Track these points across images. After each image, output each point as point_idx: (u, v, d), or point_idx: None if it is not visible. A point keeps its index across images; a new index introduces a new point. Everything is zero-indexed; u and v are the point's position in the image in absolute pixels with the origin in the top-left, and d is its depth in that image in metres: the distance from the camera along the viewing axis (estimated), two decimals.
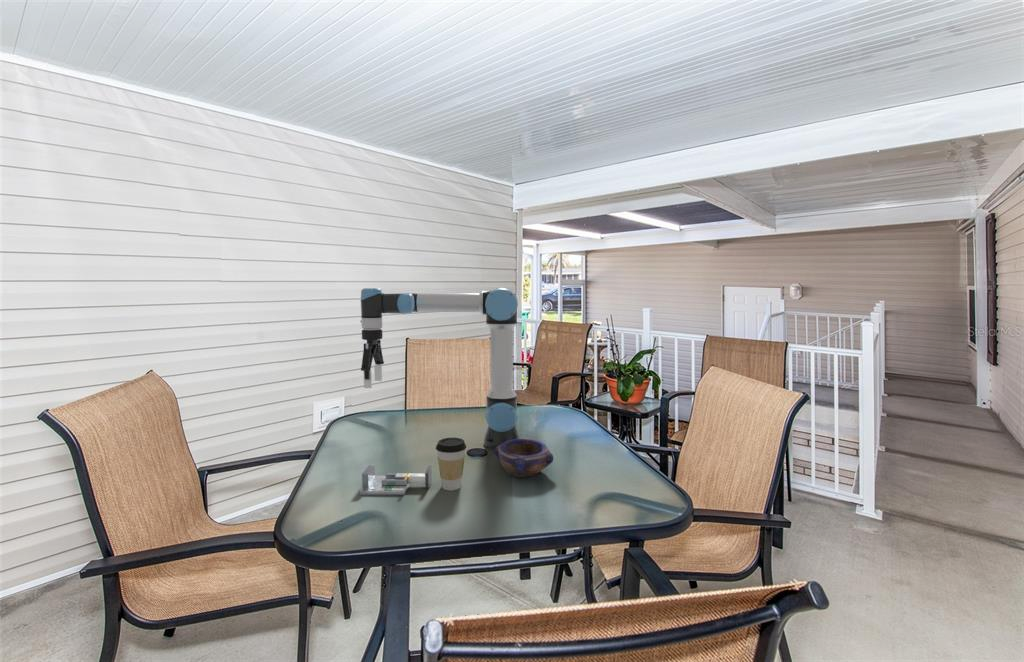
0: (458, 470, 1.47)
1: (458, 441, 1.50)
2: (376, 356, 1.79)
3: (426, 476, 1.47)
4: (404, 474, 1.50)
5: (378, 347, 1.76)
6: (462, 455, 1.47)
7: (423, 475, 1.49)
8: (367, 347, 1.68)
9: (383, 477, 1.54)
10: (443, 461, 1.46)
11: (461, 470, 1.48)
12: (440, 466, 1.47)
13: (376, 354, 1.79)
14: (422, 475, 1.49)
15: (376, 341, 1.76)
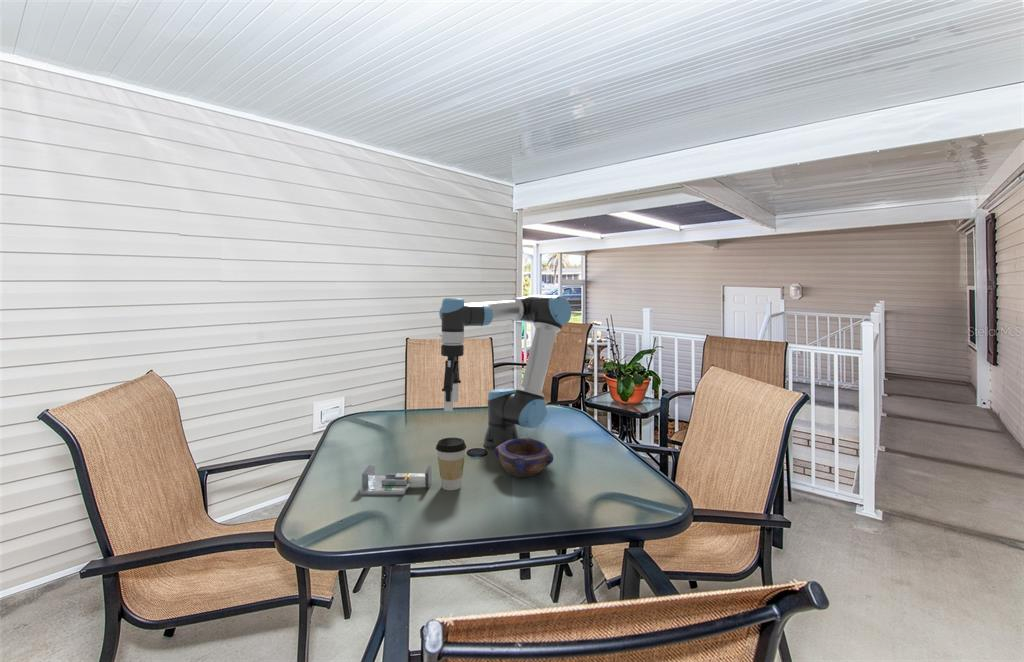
0: (458, 470, 1.47)
1: (458, 441, 1.50)
2: (454, 374, 1.60)
3: (426, 476, 1.47)
4: (404, 474, 1.50)
5: (458, 364, 1.56)
6: (462, 455, 1.47)
7: (423, 475, 1.49)
8: (449, 365, 1.48)
9: (383, 477, 1.54)
10: (443, 461, 1.46)
11: (461, 470, 1.48)
12: (440, 466, 1.47)
13: None
14: (422, 475, 1.49)
15: (456, 358, 1.57)
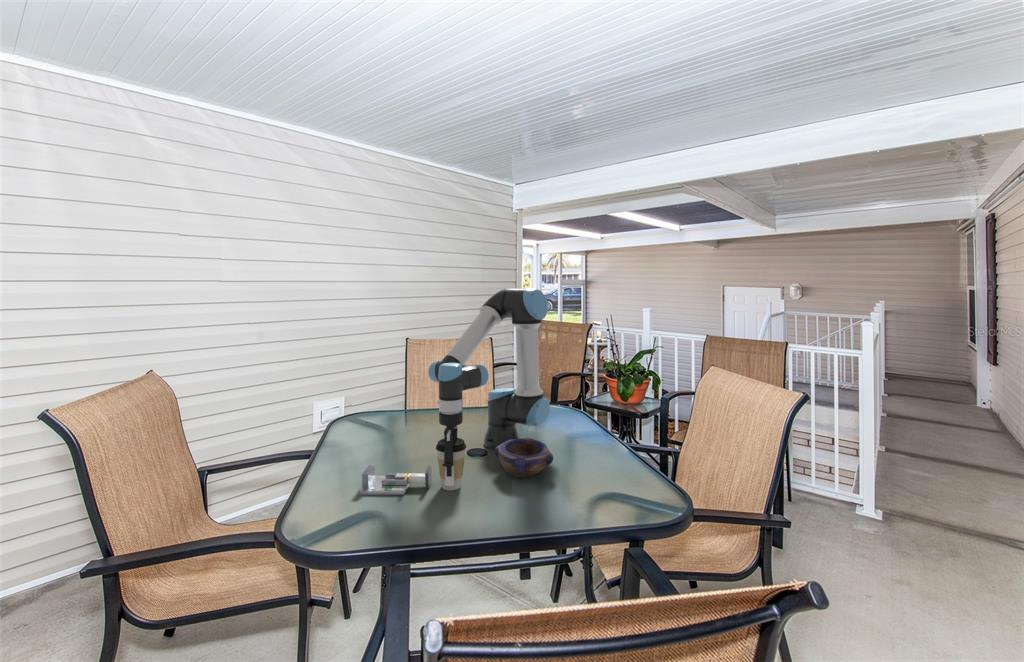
0: (458, 470, 1.47)
1: (458, 441, 1.50)
2: None
3: (426, 476, 1.47)
4: (404, 474, 1.50)
5: None
6: (462, 455, 1.47)
7: (423, 475, 1.49)
8: (449, 439, 1.42)
9: (383, 477, 1.54)
10: (443, 461, 1.46)
11: (461, 470, 1.48)
12: (440, 466, 1.47)
13: None
14: (422, 475, 1.49)
15: None
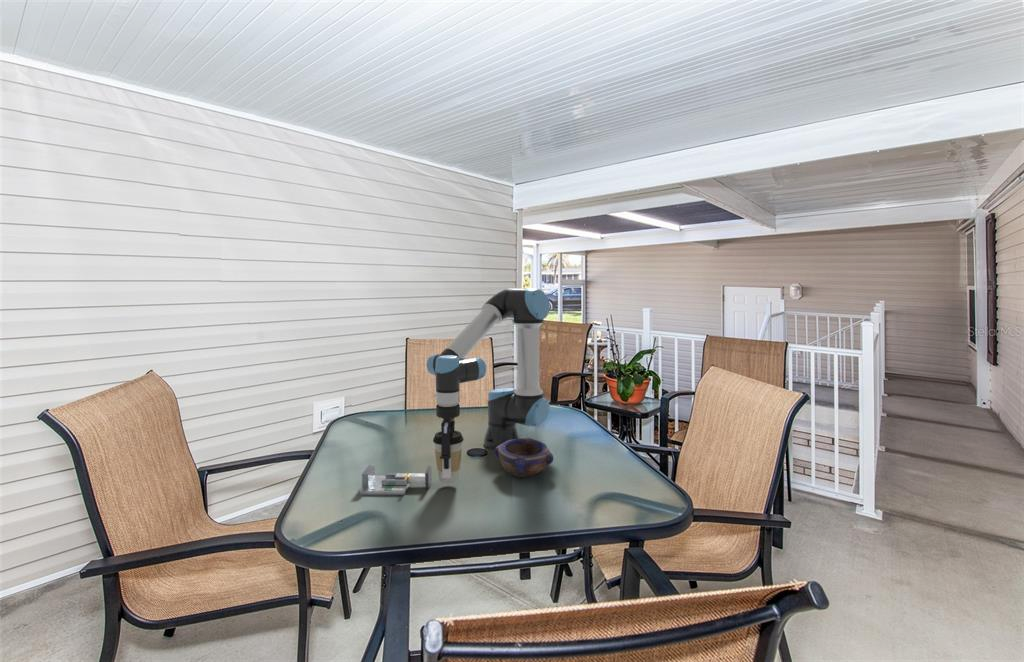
0: (455, 463, 1.47)
1: (455, 434, 1.50)
2: None
3: (426, 476, 1.47)
4: (404, 474, 1.50)
5: (454, 424, 1.49)
6: (459, 448, 1.47)
7: (423, 475, 1.49)
8: (446, 431, 1.42)
9: (383, 477, 1.54)
10: (440, 453, 1.45)
11: (458, 463, 1.48)
12: (437, 459, 1.47)
13: None
14: (422, 475, 1.49)
15: None
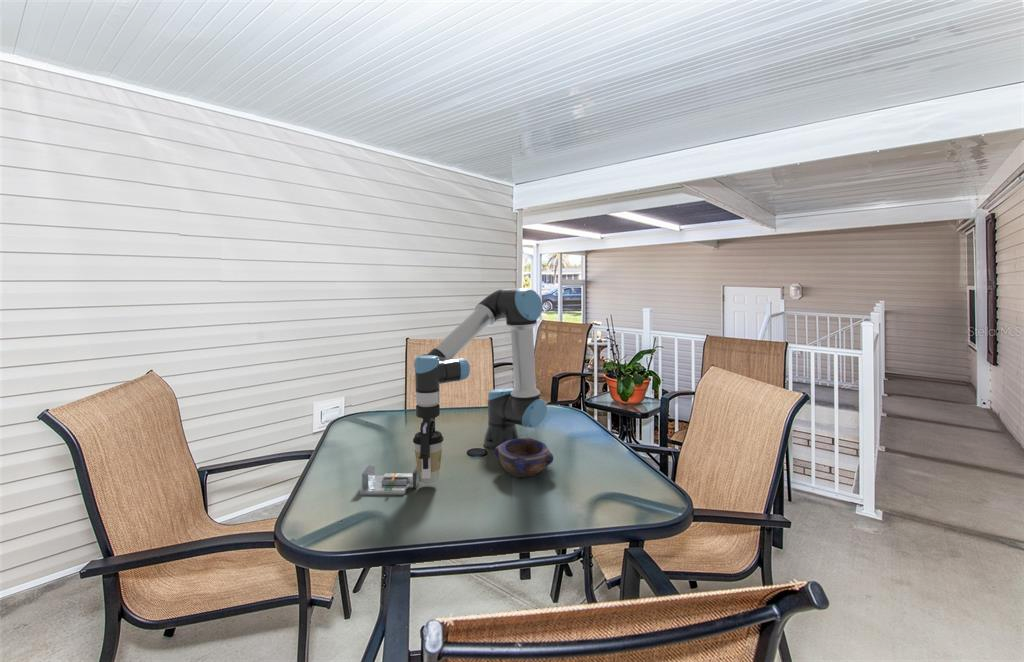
0: (435, 463, 1.46)
1: (435, 434, 1.50)
2: None
3: (413, 476, 1.47)
4: (392, 474, 1.50)
5: (434, 424, 1.49)
6: (439, 448, 1.47)
7: (411, 475, 1.49)
8: (425, 431, 1.42)
9: None
10: None
11: (438, 463, 1.48)
12: (417, 459, 1.47)
13: None
14: (409, 476, 1.49)
15: None
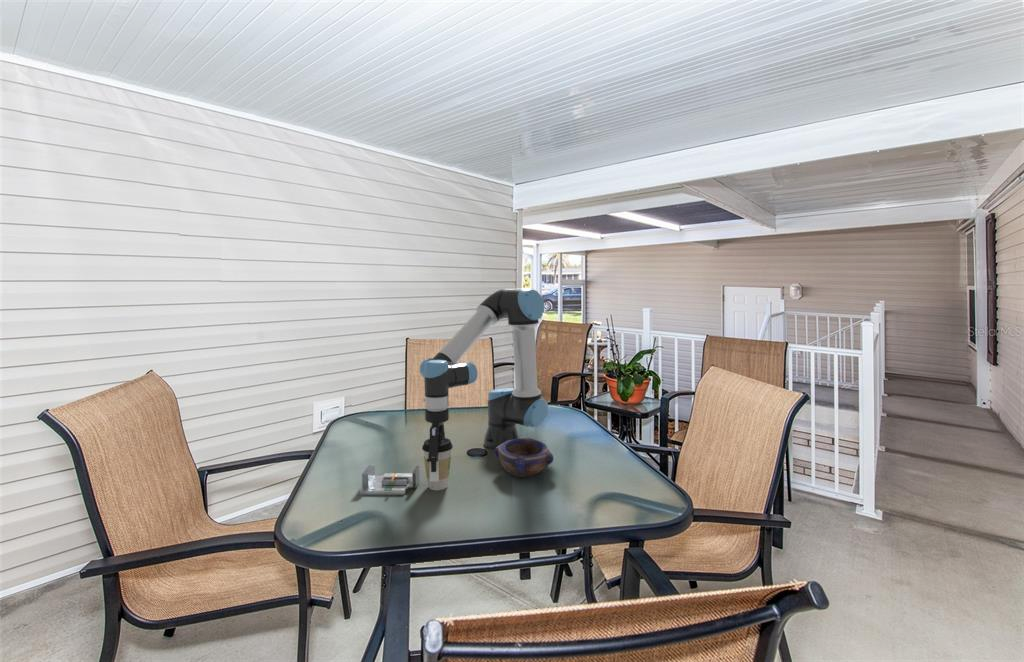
0: (444, 470, 1.47)
1: (444, 441, 1.50)
2: None
3: (413, 476, 1.47)
4: (392, 474, 1.50)
5: (443, 429, 1.50)
6: (448, 455, 1.47)
7: (410, 475, 1.49)
8: (434, 433, 1.42)
9: None
10: None
11: (447, 470, 1.48)
12: (426, 466, 1.47)
13: None
14: (409, 476, 1.49)
15: (441, 421, 1.50)
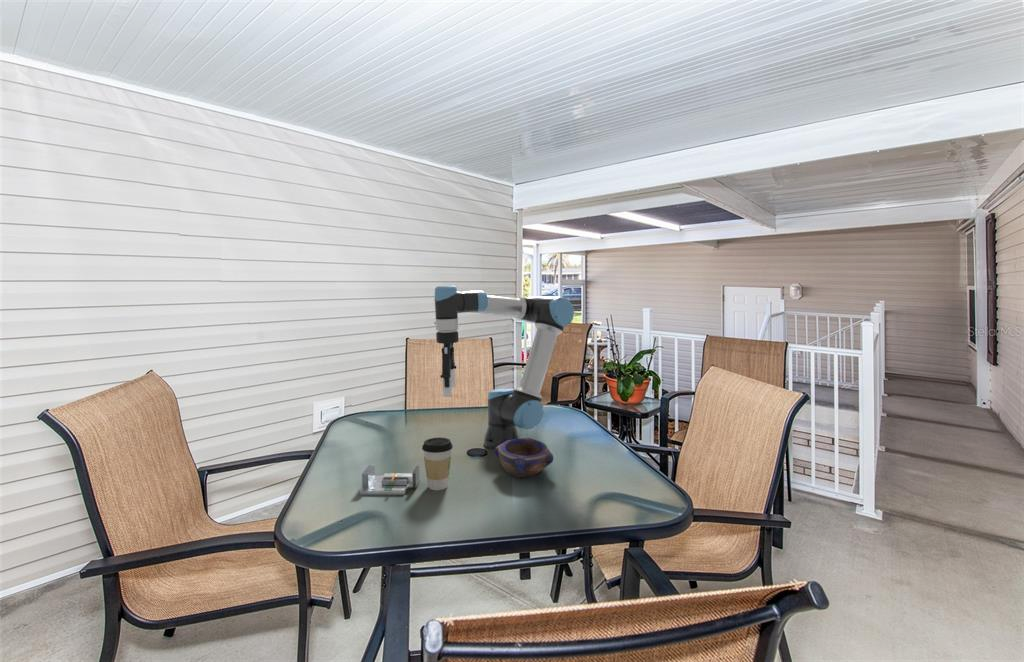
0: (444, 470, 1.47)
1: (444, 441, 1.50)
2: (450, 360, 1.63)
3: (413, 476, 1.47)
4: (392, 474, 1.50)
5: (453, 351, 1.60)
6: (448, 455, 1.47)
7: (410, 475, 1.49)
8: (446, 351, 1.52)
9: None
10: (429, 461, 1.46)
11: (447, 470, 1.48)
12: (426, 466, 1.47)
13: None
14: (409, 476, 1.49)
15: (451, 344, 1.60)
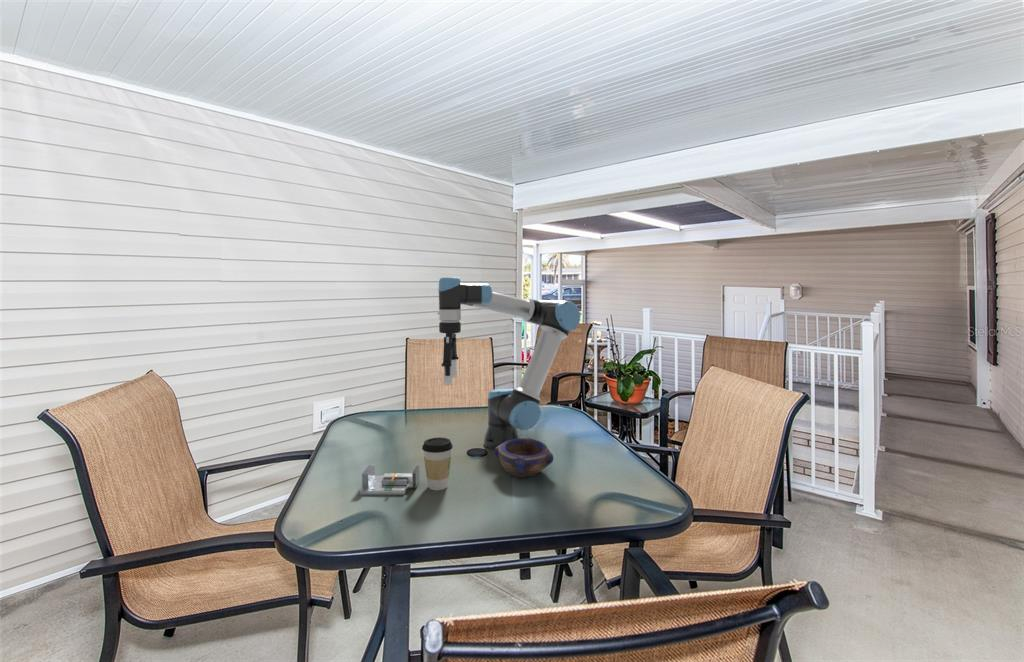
0: (444, 470, 1.47)
1: (444, 441, 1.50)
2: (452, 350, 1.67)
3: (413, 476, 1.47)
4: (392, 474, 1.50)
5: None
6: (448, 455, 1.48)
7: (410, 475, 1.49)
8: (448, 341, 1.55)
9: None
10: (429, 461, 1.46)
11: (447, 470, 1.48)
12: (426, 466, 1.47)
13: None
14: (409, 476, 1.49)
15: (453, 335, 1.64)
